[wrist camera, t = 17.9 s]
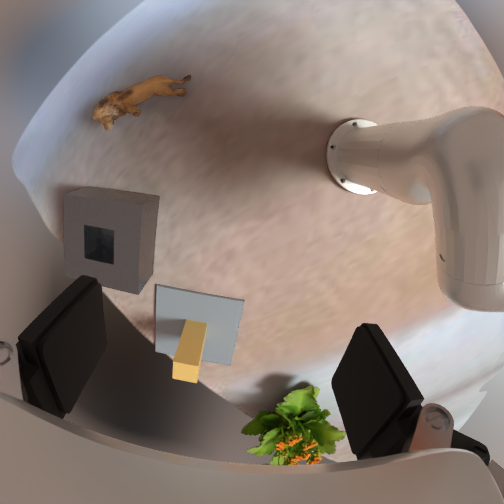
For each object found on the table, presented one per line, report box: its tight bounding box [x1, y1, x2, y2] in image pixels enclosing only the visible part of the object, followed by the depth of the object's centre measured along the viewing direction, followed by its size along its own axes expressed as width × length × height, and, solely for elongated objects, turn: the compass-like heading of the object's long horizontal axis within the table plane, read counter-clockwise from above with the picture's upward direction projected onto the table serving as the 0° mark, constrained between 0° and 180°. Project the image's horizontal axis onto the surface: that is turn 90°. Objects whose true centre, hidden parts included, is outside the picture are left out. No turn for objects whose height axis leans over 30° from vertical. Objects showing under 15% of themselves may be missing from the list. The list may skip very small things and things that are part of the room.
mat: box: [156, 284, 244, 365], centre depth 52 cm, size 16×16×1 cm
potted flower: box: [241, 385, 346, 465], centre depth 54 cm, size 25×24×18 cm
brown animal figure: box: [92, 75, 191, 130], centre depth 33 cm, size 15×5×9 cm, turn 116°
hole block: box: [63, 187, 160, 295], centre depth 41 cm, size 14×14×8 cm
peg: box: [173, 319, 207, 383], centre depth 46 cm, size 4×4×12 cm
